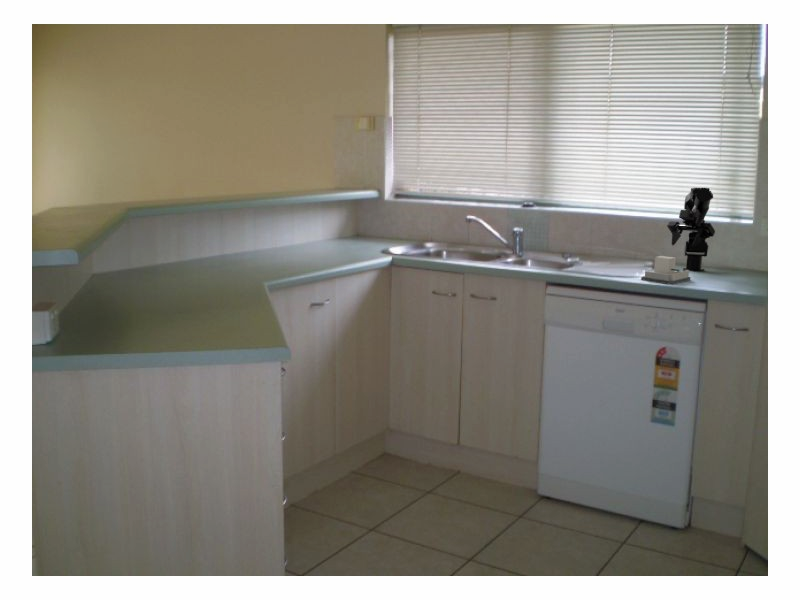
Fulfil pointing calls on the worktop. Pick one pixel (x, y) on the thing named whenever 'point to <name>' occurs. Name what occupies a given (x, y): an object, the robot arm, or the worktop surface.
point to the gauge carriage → (665, 264)
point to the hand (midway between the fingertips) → (682, 245)
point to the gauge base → (667, 277)
